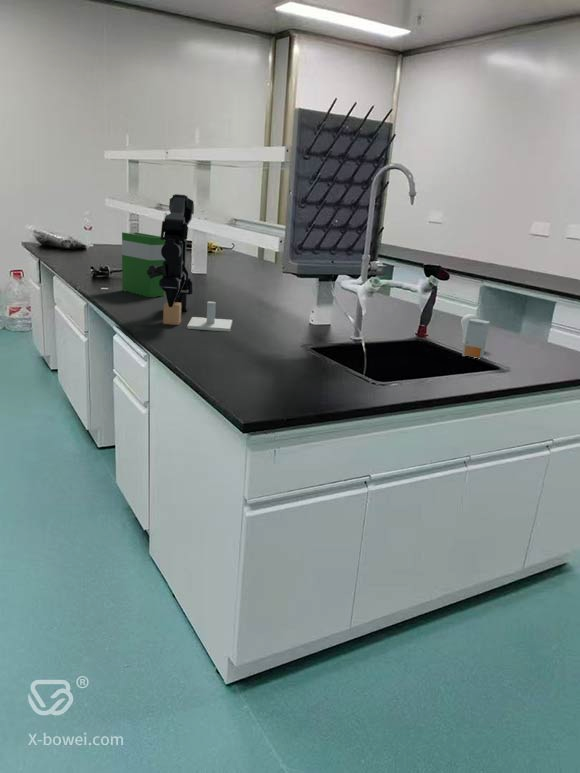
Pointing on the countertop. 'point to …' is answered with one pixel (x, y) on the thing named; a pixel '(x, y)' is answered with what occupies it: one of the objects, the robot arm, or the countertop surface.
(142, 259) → the hardback book
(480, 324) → the skincare box
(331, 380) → the countertop surface
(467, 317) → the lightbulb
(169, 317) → the tan wooden brick
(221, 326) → the post stand
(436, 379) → the countertop surface
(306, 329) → the countertop surface
